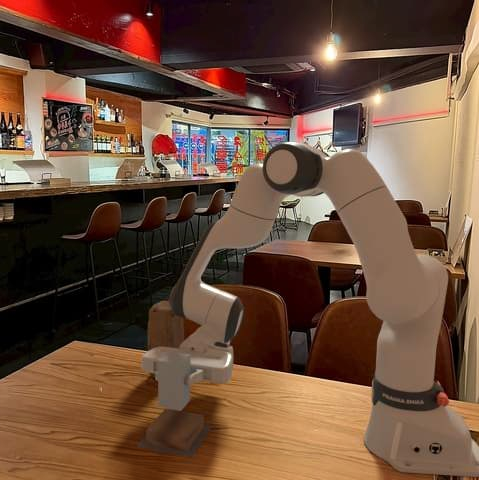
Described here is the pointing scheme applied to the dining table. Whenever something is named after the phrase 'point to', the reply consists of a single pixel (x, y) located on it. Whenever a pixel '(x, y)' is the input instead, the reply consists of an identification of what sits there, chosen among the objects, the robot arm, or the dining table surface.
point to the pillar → (173, 380)
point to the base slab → (175, 429)
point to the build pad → (175, 451)
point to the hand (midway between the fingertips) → (172, 379)
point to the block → (164, 328)
